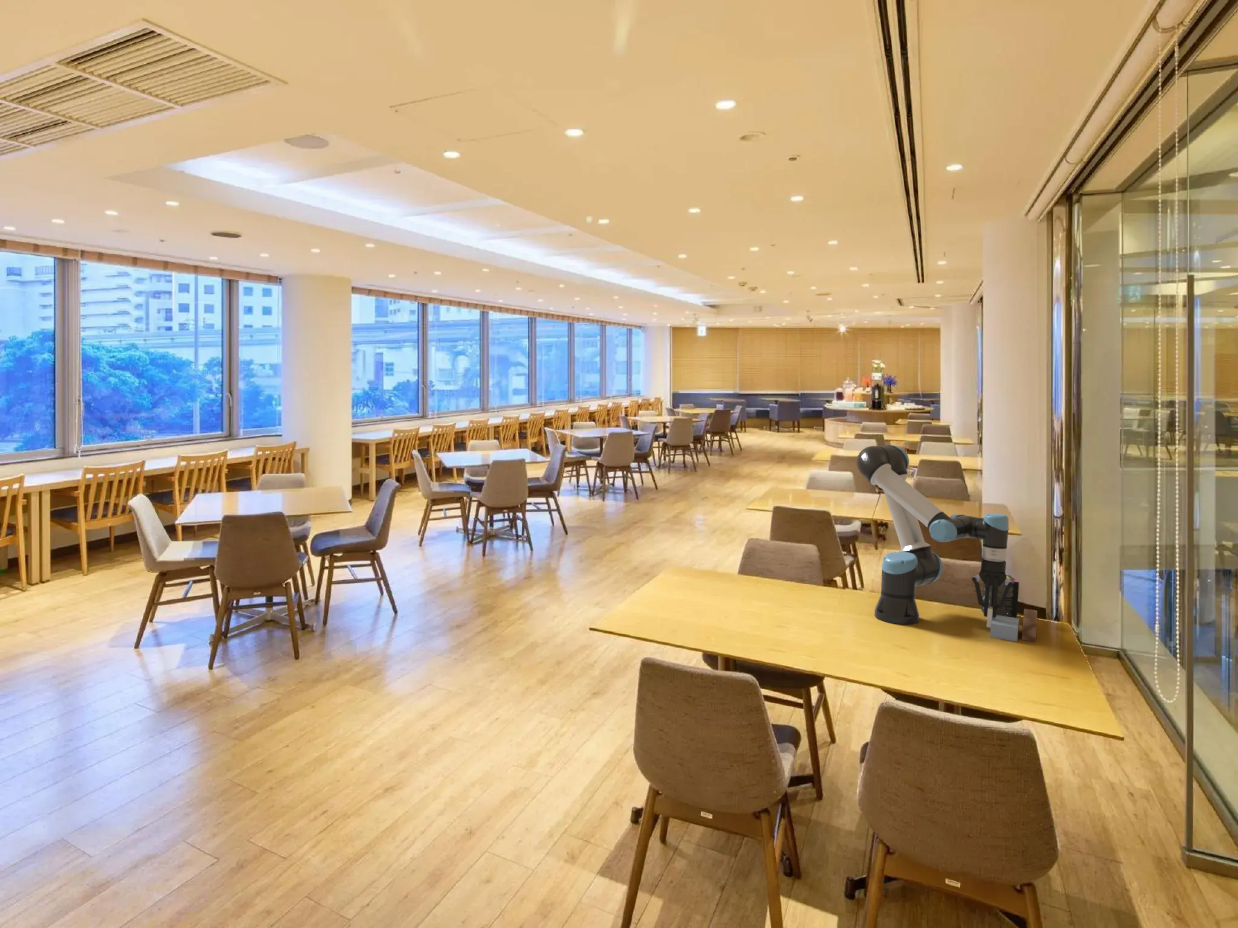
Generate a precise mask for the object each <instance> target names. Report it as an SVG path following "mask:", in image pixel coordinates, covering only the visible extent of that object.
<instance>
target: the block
mask: <svg viewBox="0 0 1238 928" xmlns="http://www.w3.org/2000/svg"><path fill="white" fill-rule="evenodd" d="M1019 626H1020V618H1019V617H1017V618H1013V617H1006V616H1000V615H996V618H992V622H991V628H990V633H989V638H993V639H999V640H1006V641H1011V642H1018V637H1019V630H1020V629H1019Z"/></svg>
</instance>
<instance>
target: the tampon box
mask: <svg viewBox="0 0 1238 928" xmlns="http://www.w3.org/2000/svg"><path fill="white" fill-rule="evenodd" d="M1006 576H1007V578H1008V579H1009V580H1010V581H1013V585H1012V586H1011V587H1010V588H1009V591H1008V594H1007V596H1006V599H1005V602H1004V605H1003V607H1002V608H998V609H997V613H996V615H1000V616H1006V617H1013V618H1018V606H1019V605H1018V604H1019V603H1018V602H1019V590H1020V582H1019V581H1018V580H1016V579H1015V578H1014V577H1012V576H1011V575H1007V574H1006ZM982 586H983V587H982V600H983V602H985V587H986V585H985V584H984V583H983V585H982ZM1005 587H1006V585H1005V581H1004V582H1003V583H1002V584H1001V585H1000V586H998V599H997V604H999V603H1000V600H1001V598H1002V595H1003V592H1004V589H1005ZM993 595H994V586H990V592H989V605H988V607H993ZM981 612H982V613H983V614H984V607H983V606H982V605H981ZM1007 613H1008V614H1007Z"/></svg>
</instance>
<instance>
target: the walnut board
mask: <svg viewBox="0 0 1238 928" xmlns="http://www.w3.org/2000/svg"><path fill="white" fill-rule="evenodd" d="M1037 624H1038V610H1035V609H1030V608H1029V609H1028V608H1024V609H1023V619H1022V631H1021V640H1023V641H1028V642H1034V643H1035V642H1036V640H1037V626H1038V625H1037Z"/></svg>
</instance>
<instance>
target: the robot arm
mask: <svg viewBox="0 0 1238 928" xmlns="http://www.w3.org/2000/svg"><path fill="white" fill-rule="evenodd" d="M909 465H910V459H909V455H908V453H907V452H906V451H905V449H903V448H902V447H901V446H897V445H892V444H886V445H884V444H883V445H871V446H870V445H869V446H866V447H864V448H863V449H861V451H860V452H859V453H858V455H857V457H856V466H857V470H858V472H859V473H860V474H861V476H863V478H864V479H865V480H866V481H868V483H870V484H871V485H872V486H878V487H879V488H880V489H881V490H883V493H884V496H885V500H886V503H887V506H888V510H889V512H890V516H891V519H892V522H893V525H894V529H895V531H896V532H895V533H896V535H897V538H898V541H899V544H900V550H898V551H893V552H888V553H885V555H884V556H883V558H882V563H881V583H880V584H881V585H880V596H879V598H878V601H877V604H876V606H875V608H874V617H875V618H876V619H878V620H880V621H883V622H886V623H890V624H896V625H897V624H898V625H899V624H900V625H912V624H913V625H914V624H916V623H919V621H920V613H919V609H918V606H917V601H916V589H917V588H916V587H920V586H925V585H929V584H930V585H931V584H932V583H934V582H935V581H937V580H938V579H939V578H940V577H941V576H942V573H943V570H944V567H943V561H942V558H941V557H940V556H939V555H938V554H936V552H934V551H933V549H932V546H931V544H929V543H927V542H926V541H925V538H924V535H923V532H922V529H921V526H920V522H921V523H922V524H923V526H925V527H926V528H928V529H929V535H930V537H931V538H932V540H934V541H936V542H939V543H948V542H951V541H956V540H962V539H966V538H967V539H968V538H969V539H976V540H979V541H982V548H981V557H982V558H981V559H980V560H981V561H980V571H979V572H978V574H977V575H973V576H972V577H971V580H972V582H973V584H974V587H975V593H976V598H977V602H978V605H979V606H981V607H982V606H983V607H984V613H983V617H986V628H990V629H991V622H992V618H996V613H997V609H998V608H1002V607H1003V605H1004V602H1005V599H1006V596H1007V594H1008V591H1009V588H1010V587H1011V586H1012V585H1013V581H1010V580H1009V579H1008V578H1007V576H1006V575H1007V573H1006V569H1007V561H1006V560H1007V554H1008V539H1009V538H1008V537H1009V530H1010V528H1009V517H1008V516H1007V514H1004V513H1003V514H1002V513H994V512H993V513H992V512H991V513H990V512H989V513H985V514H984V517H977V516H971V515H966V514H956V513H955V514H951V515H950V516H949V515H948V514H946V513H945V512H944V511H943V510H942V509H940V507H938V506H937V505H936V504H934V503H933V502H931V501H930V500H929V499H928V498H927V497H926V496H924V495H923V494H922V493H921V492H920V491H919V490H917V489H916V488H915V487H913V486H912V484H911V483H909V482H907V478H908V477H909V474H908V468H909V467H908V466H909ZM980 579H981V581H982V583H983V585H984V584H985V585H986V587H985V602H983V600H982V598H983V594H982V590H981V585H980ZM1004 581H1005V585H1006V587H1005V589H1004V592H1003V595H1002V598H1001V600H1000V603H999V604H997V599H998V586H1000V585H1001V584H1002V583H1003V582H1004ZM990 586H994V595H993V607H988V605H989V592H990Z"/></svg>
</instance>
